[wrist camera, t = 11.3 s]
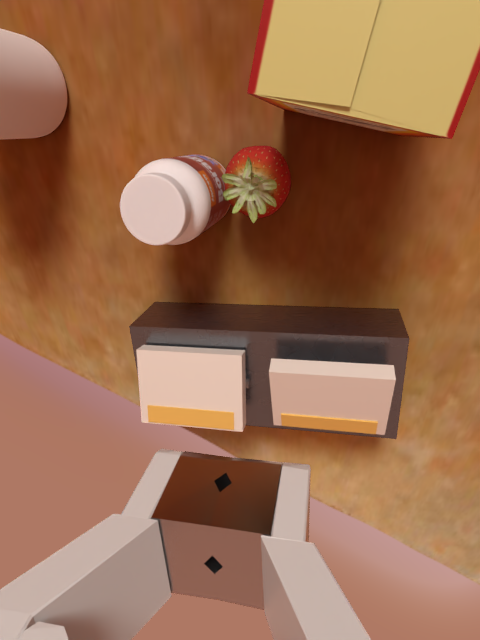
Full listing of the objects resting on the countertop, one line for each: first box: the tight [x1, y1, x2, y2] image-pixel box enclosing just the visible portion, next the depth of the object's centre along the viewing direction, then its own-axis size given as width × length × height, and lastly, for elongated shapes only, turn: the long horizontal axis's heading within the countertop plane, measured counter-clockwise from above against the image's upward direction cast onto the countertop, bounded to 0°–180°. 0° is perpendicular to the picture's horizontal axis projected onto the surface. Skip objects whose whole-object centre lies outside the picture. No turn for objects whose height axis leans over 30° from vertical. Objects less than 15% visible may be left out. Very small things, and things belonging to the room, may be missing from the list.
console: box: [129, 302, 409, 439], centre depth 39 cm, size 24×10×7 cm, turn 93°
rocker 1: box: [136, 345, 246, 432], centre depth 37 cm, size 10×7×2 cm
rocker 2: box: [269, 358, 396, 435], centre depth 34 cm, size 10×7×2 cm
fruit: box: [222, 146, 291, 223], centre depth 32 cm, size 5×5×8 cm
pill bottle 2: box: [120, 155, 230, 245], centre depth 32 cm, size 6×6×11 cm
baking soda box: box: [247, 0, 480, 139], centre depth 24 cm, size 10×6×16 cm
